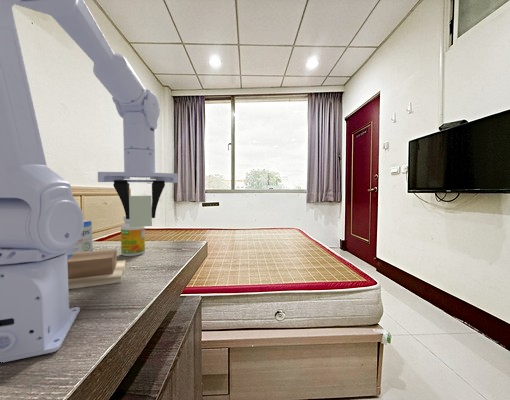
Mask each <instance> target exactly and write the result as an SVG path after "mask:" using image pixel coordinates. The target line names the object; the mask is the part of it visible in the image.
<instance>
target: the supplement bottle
mask: <svg viewBox="0 0 510 400" xmlns="http://www.w3.org/2000/svg"><path fill="white" fill-rule="evenodd" d="M123 222H124V223H123V224H122V225H121V226H120V249H121V250H120V253H121V255H122V256H123V257H134V256H140V255H143V254H144V253H146V252H145V251H146V239H145V238H146V237H145V233H146V231H145V227H146V226H142V227H130V219H126V215H125V214H124V215H123Z"/></svg>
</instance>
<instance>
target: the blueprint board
mask: <svg viewBox="0 0 510 400" xmlns="http://www.w3.org/2000/svg"><path fill="white" fill-rule="evenodd" d="M117 250H118V249H117V248H110V249H100V250H93V251H87V252H76V253H74V254H73V255H72V256H71V257H70V258H69V259H68V260H67V262H68V289H69V290H71V289H72V290H73V289H80V288H86V287H94V286H95V287H96V286H101V285H103V286H104V285H108V284H110V285H111V284H117V283H122V281H123V278H124V274H125V270H126V265H127V260H126V259H123V260H118V254H117V253H118V251H117Z"/></svg>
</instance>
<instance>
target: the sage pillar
mask: <svg viewBox="0 0 510 400" xmlns="http://www.w3.org/2000/svg"><path fill="white" fill-rule="evenodd" d="M129 218H130V227H142V226H144V227H153V218H152V195H129Z"/></svg>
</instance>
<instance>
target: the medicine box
mask: <svg viewBox="0 0 510 400" xmlns="http://www.w3.org/2000/svg"><path fill="white" fill-rule="evenodd" d="M92 224H93V223H92V221H91V220H85V219H84V227H83V231H82V234H81V236H80V238H79V240H78V241H77V243H76V244H75V245H74V246H73V251H71V252H68V253H67V260H68V259H69V258H70V257H71V256H72V255H73V254H74V253H76V252H87V251H94V250H93V227H92Z"/></svg>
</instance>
